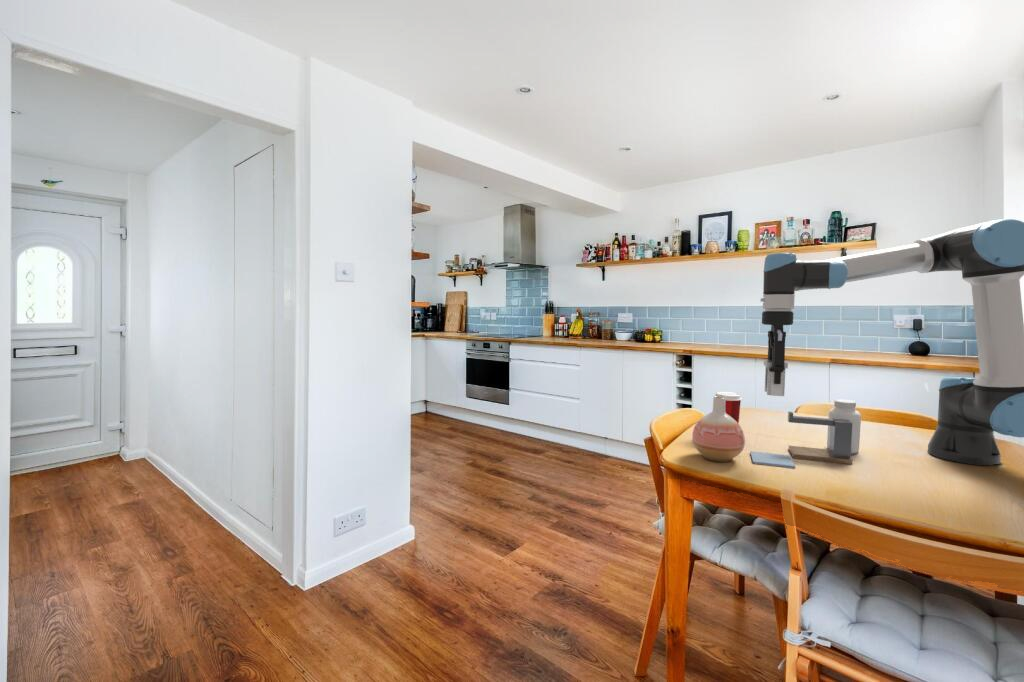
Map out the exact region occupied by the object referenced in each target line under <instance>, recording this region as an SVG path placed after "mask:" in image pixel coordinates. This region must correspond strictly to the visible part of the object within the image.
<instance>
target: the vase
mask: <svg viewBox="0 0 1024 682" xmlns="http://www.w3.org/2000/svg"><path fill="white" fill-rule="evenodd" d="M714 396H715V395H714ZM714 396H713V400H712V411H711V412H709V413H707V414H706V415H704V416H702V417H701V418H700V419H699V420H698V421H697V422H696V424H695V425H694V427H693V430H692V433H691V435H692V440H691V441H692V444H693V446H694V448H695V450H697V451H698V453H700V454H701V455H702V457H703V458H705V459H706V460H709V461H711V462H712V461H713V462H718V463H719V462H720V463H727V462H730V461H732V460H733V459H734V458H736V457H738V456H739V455H740V454H741V453H742V452H743V450H744V448H745V444H746V437H745V432H744V430H743V427H742V426H741V425H740V423H739V424H738V423H737V422H736V421H735V420H734V419H733V418H732V417H731V416H729V415H728V414H727V413H726V412H725V397H721V396H715V397H714Z"/></svg>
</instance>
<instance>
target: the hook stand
mask: <svg viewBox="0 0 1024 682" xmlns="http://www.w3.org/2000/svg"><path fill="white" fill-rule="evenodd" d="M787 422H788V423H793V424H794V423H795V424H807V425H817V426H827V427H828V426H830V446H829V449H828V448H819V447H818V448H817V447H816V448H815V447H809V446H808V447H806V446H796V445H788V452H789V453H790V455H791V456H792V457H791V458H793V459H798V460H799V459H800V460H806V461H815V462H816V461H817V462H825V463H826V462H827V463H835V464H837V463H838V464H845V465H853V459H852V458H851V455H852V453H851V440H852V422H850V421H849V420H848V419H839V418H831V419H828V417H827V418H826V417H825V418H824V417H812V416H811V417H810V416H798V415H794V413H793V411H787Z"/></svg>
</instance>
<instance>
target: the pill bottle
mask: <svg viewBox="0 0 1024 682" xmlns="http://www.w3.org/2000/svg"><path fill="white" fill-rule="evenodd" d="M833 405H834V407H833V408H831V409H830V410H829V411H828V417H827V419H831V418H839V419H848V420H849V421H850V422H852V440H851V454H858V453H859V449H860V440H861V427H862V426H861V423H862V415H861V412H859V411H858V410H856V409H857V401H855V400H851V399H844V398H843V399H841V398H839V399H834V401H833ZM826 437H827V439H826V447H827V449H829V446H830V426H828V425H827V436H826Z"/></svg>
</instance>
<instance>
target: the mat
mask: <svg viewBox="0 0 1024 682" xmlns="http://www.w3.org/2000/svg"><path fill="white" fill-rule="evenodd" d="M749 453H750V457H751V461H752V463H753V464H755V465H764V466H773V467H779V468H780V467H781V468H791V469H796V465H795V463H794V461H793V460H792V457H791V456H790V455H789V454H781V453H772V452H762V451H752V450H751V451H750V452H749Z"/></svg>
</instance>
